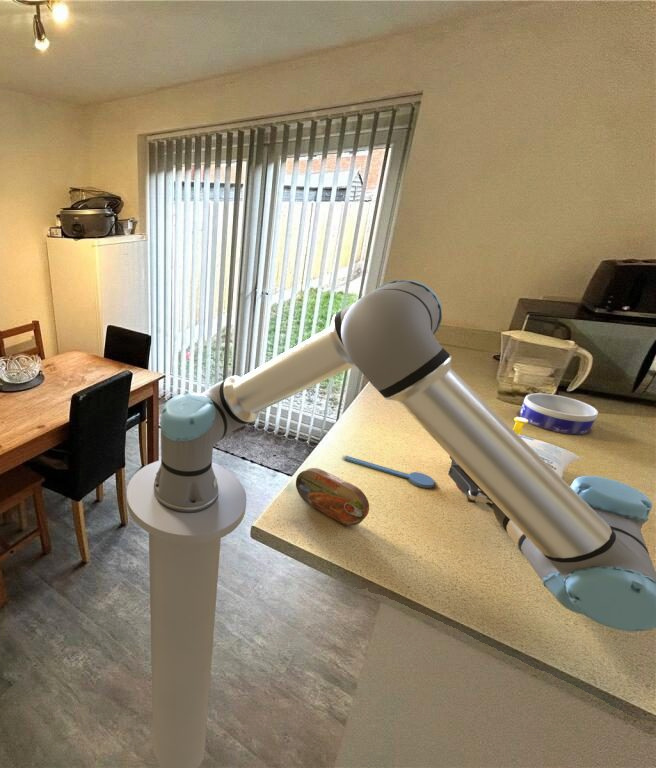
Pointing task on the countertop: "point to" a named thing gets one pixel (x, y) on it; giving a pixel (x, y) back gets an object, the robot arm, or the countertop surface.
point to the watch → (519, 424)
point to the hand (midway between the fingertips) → (472, 454)
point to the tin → (332, 496)
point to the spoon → (398, 473)
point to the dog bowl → (558, 413)
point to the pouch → (552, 454)
